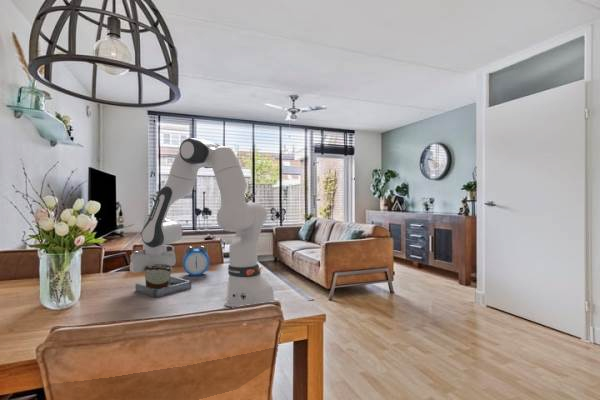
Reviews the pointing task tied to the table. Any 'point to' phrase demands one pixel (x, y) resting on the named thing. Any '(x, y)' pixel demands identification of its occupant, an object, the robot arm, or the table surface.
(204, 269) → the alarm clock
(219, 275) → the table surface
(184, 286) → the metal dock
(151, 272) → the food container
